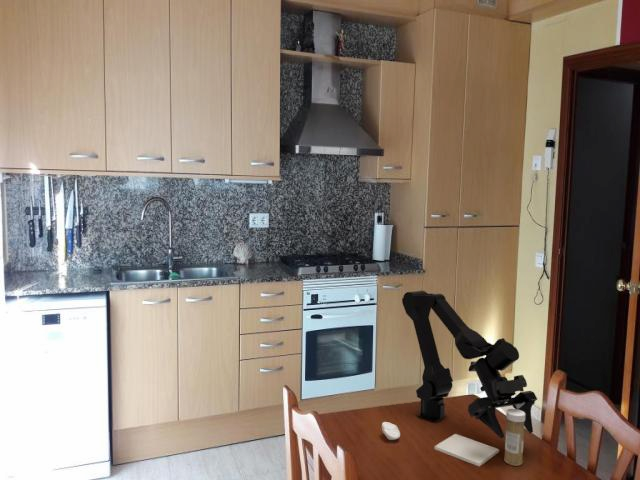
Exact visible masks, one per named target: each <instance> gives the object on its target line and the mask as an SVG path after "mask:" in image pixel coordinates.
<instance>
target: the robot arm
mask: <svg viewBox="0 0 640 480" xmlns="http://www.w3.org/2000/svg"><path fill="white" fill-rule="evenodd" d="M401 303H402V306H403V308H404V311H405V314H406V315H407V316H408V317H409V318H410V319H411V321H412V323H413V326H414V331H415V334H416V338H417V342H418V346H419V350H420V354H421V357H422V358H421V359H422V362H423V365H424V369H423V373H422V377H421V379H422V385H421V386H419V387H418V388H417V389H416V390H415V391H416V392H415V393H416V397H417V399H420V408H419V409H420V410H419V411H420V412H419V413H417V415H416V416H417V417H419V418H422V419H424V420H427V421H430V422H433V423H437V422H439V421H441V420H442V419H444V418H446V416H447V415H446V414H445V413H446V412H445V411H446V410H445V409H446V404H445V398H447V397H448V396H449V394H450V392H451V391H452V388H453V382H454V380H453V378H452V374H451V370H450V368H449V367H447V368H445V367H444V365H443V364H442V362H441V359H440V355H439V353H438V347H437V344H436V341H435V340H436V339H435V336H434V333H433V329H432V325H431V321H430V315H431V310H432V311H433V312H434V313H435V315H436V316H437V317H438V318H439V320H440V321H441V322H442V324H443V325H444V326H445V328H446V329H447V330H448V331H449V333H450V334H451V335H452V337H453V339H454V345H455V347H456V350H457V351H458V352H459V354H460V356H461V357H462V358H463V359H465V360H473V359H477V360H476V361H470V365H469V367H468V372H475V373H476V375H477V378H478V380H479V382H480V384H481V387H480V392H485V394H486V397H478V398H475V399H474V401H472V402H471V403H470V404H469V405H468V407H467V412H468V414H469V416H470V417H471V418H475V419H476V420H479V421H480V422H481V423H483V424H484V425H485V426H487V427H488V429H490V430H491V431H492V432H493V433H494V434H496V435H497V436H498V437H499V438H500V439H504V438H505V434H504V431H503V429H502V427H501V424H500V423H499V420H498V418H497V415H496V409H498V408H505V407H510V406H511V407H513V409H518V410H521V411H523V412H524V413H525V422H524V429H525V430H527V432H528V433H529V434H532V433H533V432H534V429H533V422H532V421H533V420H532V407H533V405H535V403H536V401H537V400H538V398H537V395H536V393H535V392H534V391H532V390H526V391H525V390H524V388H527V387H528V383H527V380H526V377H525V376H524V375H523V374H519V375H514V376H513V379H509V380H508V378H507V377H506V376H502V374H501V373H500V371H501V372H502V371H505V370H506V369H508V368H509V367H510V366H511V365H513V364H514V363H515V362H516V361H518V360H519V358H520V353H519V350H518V349H517V347H516V346H514V345H513V344H512V343H510V342H508V341H506V339H505V338H504V337H503V338H498V339H497V340H496V341H495V342H494V343H493V344H492V343H490V342H488V341H487V340H486V338H484V336H482V335H481V334H480V333H479V332H477V331H476V330H474V329H472V328H470V327H469V326H468V325H467V324H466V323H465V322H464V321H463V319H462V318H461V317H460V316H459V314H458V313H457V312H456V311H455V310H454V308H453V307H452V305H450V303H449V302H448V301H447V300H446V296H445V295H444V294H442V293H428V292H426V291H425V290H423V289H422V290H416V291H407V292H405V293H404V295H403V296H402V299H401ZM516 392H518V394H517V393H516ZM513 396H514V397H513Z"/></svg>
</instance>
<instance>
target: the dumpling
mask: <svg viewBox="0 0 640 480" xmlns="http://www.w3.org/2000/svg"><path fill="white" fill-rule="evenodd" d="M381 429H382V433H383V434H384V435H385V436H386V438H387V439H388V440H390V441H395V440H397V439H399V438H400V437H401V432H400V431H401V430H400V429H399V428H398V426H397V425H396V424H393V423H391V422H388V421H383V422H382V423H381Z"/></svg>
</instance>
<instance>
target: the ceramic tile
mask: <svg viewBox="0 0 640 480" xmlns="http://www.w3.org/2000/svg"><path fill="white" fill-rule="evenodd" d="M434 450H436V451H438V452H441V453H442V454H446V455H449V456H451V457H453V458H456V459H458V460H461V461H464V462H467V463H469V464H472V465H474V466H477V467H479V468H480V467H481V466H482V465H484V464H486V462H488V461H489V460H490V459H492V458H493V457H494V456H496V455H497V454H498V453H499V452H500V449H499V448H496V447H494V446H490V445H488V444H486V443H482V442H479V441H478V440H477V441H476V440H475V439H471V438H470V437H469V438H468V437H465V436H464V435H463V436H462V435H461V434H457V433H454V434H453V435H451V436H448V438H445V439H444V440H442V441H440V442H439V443H438V444H436V445H434Z"/></svg>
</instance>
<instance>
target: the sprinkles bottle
mask: <svg viewBox="0 0 640 480" xmlns="http://www.w3.org/2000/svg"><path fill="white" fill-rule="evenodd" d="M505 417H506V418H505V419H506V426H505V427H506V428H505V437H504V438H505V441H504V458H503V460H504V462H505V463H506V464H508V465H510V466H515V467H518V466H521V465H522V464H523V463H524V461H523V454H524V453H523V452H524V432H525V431H524V429H525V426H524V422H525V413H524V412H523V411H521V410H518V409H515V408H508V409H507V410H506V414H505Z"/></svg>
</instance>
